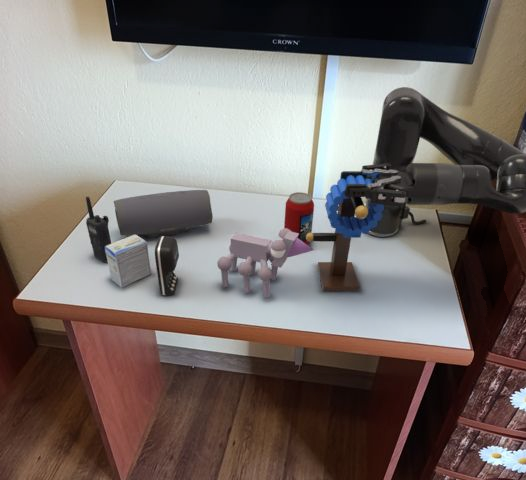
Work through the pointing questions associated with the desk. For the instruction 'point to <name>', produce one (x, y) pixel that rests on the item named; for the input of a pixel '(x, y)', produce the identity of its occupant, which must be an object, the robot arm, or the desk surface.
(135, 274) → the medicine box
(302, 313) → the desk surface
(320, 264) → the hook stand
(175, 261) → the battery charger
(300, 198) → the beverage can
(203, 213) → the bluetooth speaker
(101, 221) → the two-way radio
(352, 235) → the ridged ring
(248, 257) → the toy sheep
